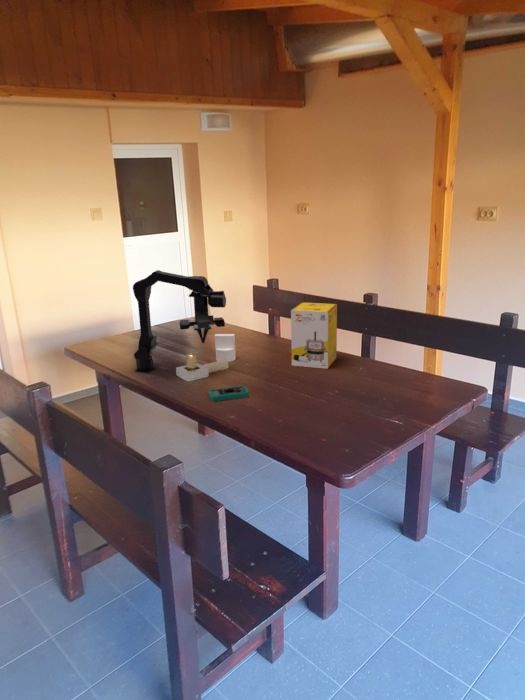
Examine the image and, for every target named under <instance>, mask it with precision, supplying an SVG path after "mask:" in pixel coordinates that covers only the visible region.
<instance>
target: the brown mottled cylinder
mask: <svg viewBox="0 0 525 700" xmlns="http://www.w3.org/2000/svg"><path fill="white" fill-rule="evenodd" d="M185 357H186V365H187V370H188V371H192V370H196V369H197V363H198V362H197V354H196V353H194V352H191V353H190V352H189V353H186V355H185Z"/></svg>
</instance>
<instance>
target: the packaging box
mask: <svg viewBox="0 0 525 700" xmlns="http://www.w3.org/2000/svg"><path fill="white" fill-rule="evenodd" d="M337 322H338V304H337V303H320V302H319V303H318V302H301V303H299V304H298V305H296V306H295V307H293V308H292V309H291V310H290V329H291V331H290V333H291V335H290V336H291V337H290V338H291V339H290V341H291V366H294V367H302V366H303V367H304V368H315V369H326V370H327V369H329V368H330V366H331V365H332V364H333V362H335V361H336V359H337V348H338V347H337V345H338V344H337V341H338V340H337V339H338V337H337V335H338V334H337V333H338V331H337V330H338V329H337V328H338V323H337Z"/></svg>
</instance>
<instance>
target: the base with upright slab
mask: <svg viewBox="0 0 525 700" xmlns="http://www.w3.org/2000/svg"><path fill="white" fill-rule="evenodd" d="M235 338H236V336H235V333H216V334H214V343H215V345H214V346H215V348H214V349H215V360H216V362H217V361H221V360H228V363H229V362H233V361H235V360H236V359H237V358H236V341H235Z"/></svg>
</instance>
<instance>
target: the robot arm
mask: <svg viewBox="0 0 525 700" xmlns="http://www.w3.org/2000/svg"><path fill="white" fill-rule="evenodd" d="M157 282H161V283H164V284H165V283H167V284H169V285H170V284H172V285H176V286H182V287H184V288H186V289H188V290H190V291H191V293H190V294H189V295H188V297H189V298H193V307H194V309H193V310H194V321H190V320H189V319H180V320H179V321H178V322H179V329H180V330H189V328H190V327H193V330H194V331H196V332H197V333H198V336H199V338H200V340H201V343H202V344H205V342H206V339H207V338H206V337H207V335H208V332H209V331H210V330H212V326H214V325H215V326H216V327H217V328H221V327H226V325H225V324H226V322H225V319H224V318H223V317H214V315H209V307H211V308H226V305H227V297H226V294H225V290H220V291H219V290H218V291H216V290H214V289H213V288H212V287H211V286H210V284H209V281H208V279H207V277H206V276H202V275H200V276H199V275H194V276H191V275H190V276H189V275H186V276H185V275H181V274H175V273H172V272H166V271H163V270H162V271H161V270H160V269H157V270H155V271H153V272H152V273H151V274H150V275H148V276H146V277H145V278H142V279H140V280H137V281H136V282H135V283H134V284H133V285H132V291H133V295H134V297H135V299H136V301H137V304H138V307H137V308H138V316H139V317H138V318H139V319H138V320H139V329H140V330H139V331H140V337H139V340H138V346H137V347H138V348H137V350H136V352H135V353H134V354H133V357H134V359H135V360H136V362H135V363H136V369H135V372H140V373H143V372H144V373H149V372H150V371H152V370H154V369H155V368H156V367H155V366H154V364H155V363H154V359H153V356H152V354H153V352H154V350H155V349H156V347H157V345H158V342H157V335H154V334H153V333H152V325H151V323H152V322H151V309H150V297H151V293H152V287H153V286H154V285H155V284H157ZM202 329H203V330H202Z"/></svg>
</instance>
